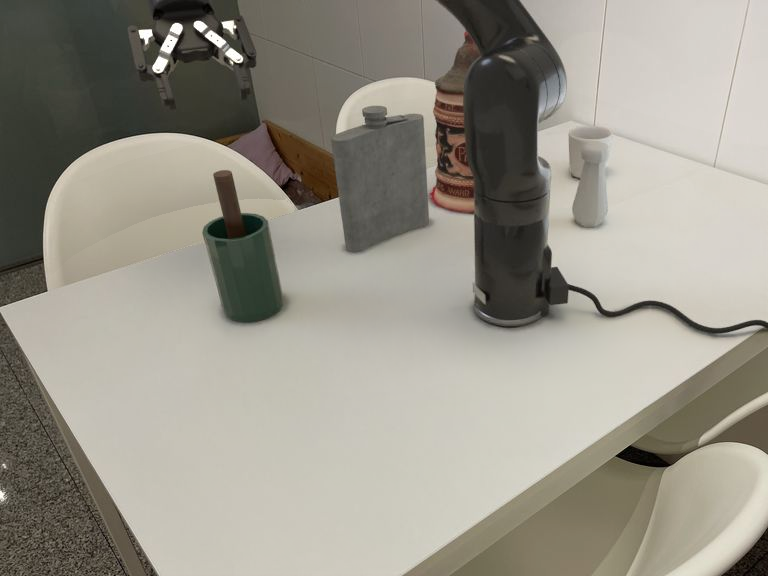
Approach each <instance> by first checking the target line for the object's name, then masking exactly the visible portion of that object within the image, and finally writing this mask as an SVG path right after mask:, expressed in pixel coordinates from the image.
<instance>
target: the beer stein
mask: <svg viewBox="0 0 768 576" xmlns="http://www.w3.org/2000/svg"><path fill="white" fill-rule="evenodd" d="M464 30H465V29H464ZM480 56H481V54H480V52H479V50H478V49H477V47H476V45H475V44H474V42H473V40H472V39H471V37H470V36H469V34H468V33H467V31H466V30H465V31H464V42H463V44H462V45H461V46H460V47H459V48H458V49H457V51H456V54H455V58H454V60H453V65H452V66H451V68H450V69H449V70H448V71H447V72H446V74H444V75H443V76H441V77H439V78H437V79H436V80H435V81H434V86H435V90H436V94H435V99H434V106H433V109H432V113H433V116H434V120H435V123H436V128H435V132H434V137H435V150H436V156H437V157H436V162H437V166H436V167H435V170H434V175H435V177H436V179H435V180H436V183H435V186H434V187H433V188H432V190H431V192H429V196H430V197H429V196H428V199H430V200H432V202H433V203H434V204H435V205H436V206H438V207H441V208H443V209H446V210H448V211H452V212H458V213H468V214H474V179H473V175H472V172H471V170H470V168H469V165H468V162H467V156H466V144H465V129H464V114H463V90H464V83H465V78H466V75H467V72H468V70H469V68H470V66H471V65H472V63H473V62H474V61H475V60H476V59H477V58H478V57H480Z"/></svg>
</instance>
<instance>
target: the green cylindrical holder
mask: <svg viewBox="0 0 768 576" xmlns="http://www.w3.org/2000/svg"><path fill="white" fill-rule="evenodd" d="M241 215H242V220H243V224H244V229H245V233H246V236H245V237H241V238H234V239H228V234H227V230H226V226H225V222H224V218H223V215H221V216H219V217H217V218H214V219H212V220H211V221H209V222H208V223H206V224H205V225H204V226H203V228H202V233H201V234H202V237H203V241H204V245H205V249H206V252H207V256H208V260H209V263H210V267H211V271H212V275H213V278H214V283H215V286H216V291H217V293H218V298H219V300H220V301H219V302H220V304H221V308H222V310H223V314H224V316H225V317H226V318H227V319H228V320H231V321H233V322H237V323H255V322H260V321H264V320H267V319H270V318H272V317H273V316H275V315H276V314H278V313H279V312H280V311H281V310H282V309H283V307H284V305H285V301H284V296H283V289H282V284H281V280H280V275H279V270H278V264H277V259H276V254H275V249H274V245H273V239H272V235H271V230H270V225H269V221H268V219H267V218H266V217H264V215H260V214H257V213H250V212H241Z"/></svg>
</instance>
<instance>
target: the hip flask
mask: <svg viewBox="0 0 768 576" xmlns="http://www.w3.org/2000/svg"><path fill="white" fill-rule="evenodd" d="M361 112H362V113H361V114H362V117H363V118H364V124H362V125H358V126H356V127H355V126H354V127H352V128H349V129H346V130H344V131H340V132H337V133H335V134H333V135H332V136H331V137H330V142H331V149H332V157H333V165H334V171H335V178H336V186H337V192H338V199H339V200H338V203H339V208H340V216H341V224H342V232H343V237H344V245H345V250H346V251H347V252H348V253H360V252H363V251H365V250H367V249H368V248H369V247H372V246H374V245H376V244H379V243H380V242H383V241H385V240H388V239H390V238H392V237H395V236H397V235H401V234H403V233H406V232H410V231H412V230H415V229H420V228H424V227H426V226H428V225H429V224H430V212H429V211H430V210H429V193H428V176H427V174H428V173H427V159H426V158H427V157H426V139H425V121H424V120H425V119H424V115H423V114H421V113H406V114H397V115H391V116H388V109H387V107H386V106H383V105H369V106H365V107H363V108H362V109H361Z"/></svg>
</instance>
